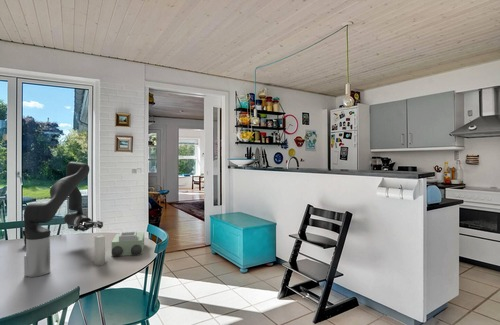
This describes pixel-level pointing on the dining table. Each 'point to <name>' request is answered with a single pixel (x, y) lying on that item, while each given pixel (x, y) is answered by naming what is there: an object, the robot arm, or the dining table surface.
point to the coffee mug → (24, 236)
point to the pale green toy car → (128, 244)
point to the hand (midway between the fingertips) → (92, 228)
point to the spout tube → (99, 250)
